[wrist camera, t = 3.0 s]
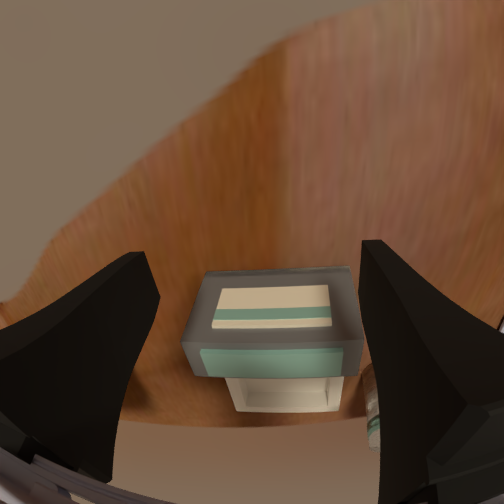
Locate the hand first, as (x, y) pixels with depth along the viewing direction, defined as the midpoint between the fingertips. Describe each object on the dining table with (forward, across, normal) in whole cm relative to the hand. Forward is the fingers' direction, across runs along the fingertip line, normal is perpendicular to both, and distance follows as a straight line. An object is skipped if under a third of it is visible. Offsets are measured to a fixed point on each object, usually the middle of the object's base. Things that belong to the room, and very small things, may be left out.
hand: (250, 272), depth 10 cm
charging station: (+8, 0, +12) cm, 15 cm away
